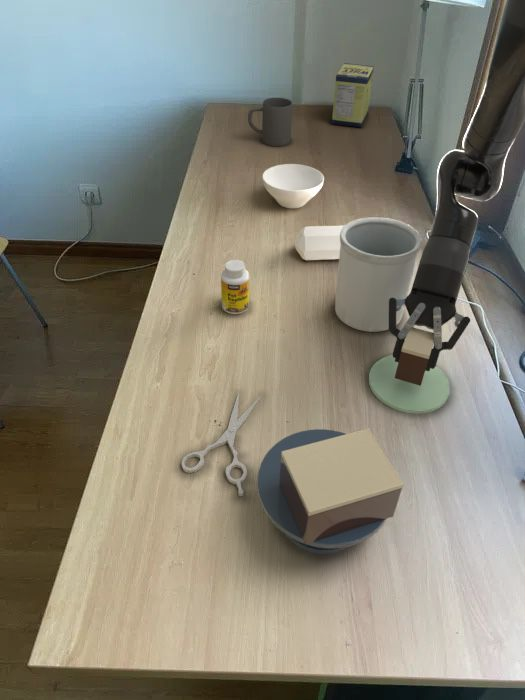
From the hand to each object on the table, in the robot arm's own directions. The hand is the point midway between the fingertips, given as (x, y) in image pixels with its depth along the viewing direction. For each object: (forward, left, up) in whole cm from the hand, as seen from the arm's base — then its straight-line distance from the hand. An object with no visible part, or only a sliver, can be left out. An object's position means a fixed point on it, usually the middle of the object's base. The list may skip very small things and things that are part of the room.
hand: (412, 365), depth 94 cm
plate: (-1, -2, -6) cm, 6 cm away
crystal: (+5, -45, -6) cm, 45 cm away
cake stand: (+17, +24, -6) cm, 30 cm away
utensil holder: (+3, -23, -6) cm, 24 cm away
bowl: (+16, -70, -6) cm, 72 cm away
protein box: (-7, -131, -6) cm, 132 cm away
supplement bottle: (+30, -24, -6) cm, 39 cm away
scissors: (+30, +10, -6) cm, 32 cm away
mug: (+21, -111, -6) cm, 113 cm away
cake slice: (-1, -2, -3) cm, 3 cm away
